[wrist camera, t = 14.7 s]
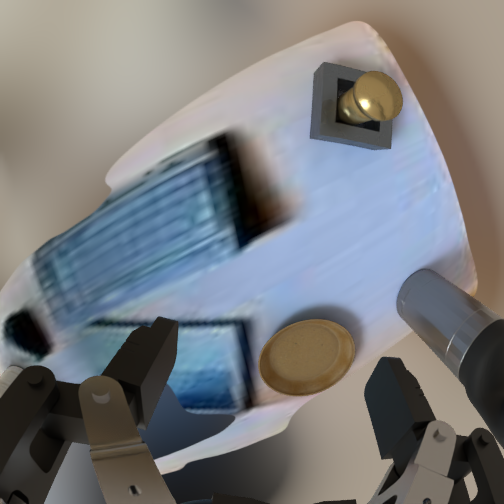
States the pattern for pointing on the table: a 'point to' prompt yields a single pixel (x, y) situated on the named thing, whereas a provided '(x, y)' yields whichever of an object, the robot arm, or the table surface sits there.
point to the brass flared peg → (369, 100)
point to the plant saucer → (306, 357)
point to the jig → (325, 111)
